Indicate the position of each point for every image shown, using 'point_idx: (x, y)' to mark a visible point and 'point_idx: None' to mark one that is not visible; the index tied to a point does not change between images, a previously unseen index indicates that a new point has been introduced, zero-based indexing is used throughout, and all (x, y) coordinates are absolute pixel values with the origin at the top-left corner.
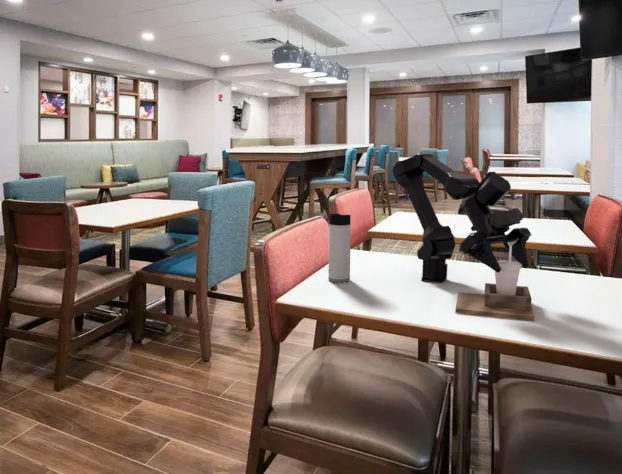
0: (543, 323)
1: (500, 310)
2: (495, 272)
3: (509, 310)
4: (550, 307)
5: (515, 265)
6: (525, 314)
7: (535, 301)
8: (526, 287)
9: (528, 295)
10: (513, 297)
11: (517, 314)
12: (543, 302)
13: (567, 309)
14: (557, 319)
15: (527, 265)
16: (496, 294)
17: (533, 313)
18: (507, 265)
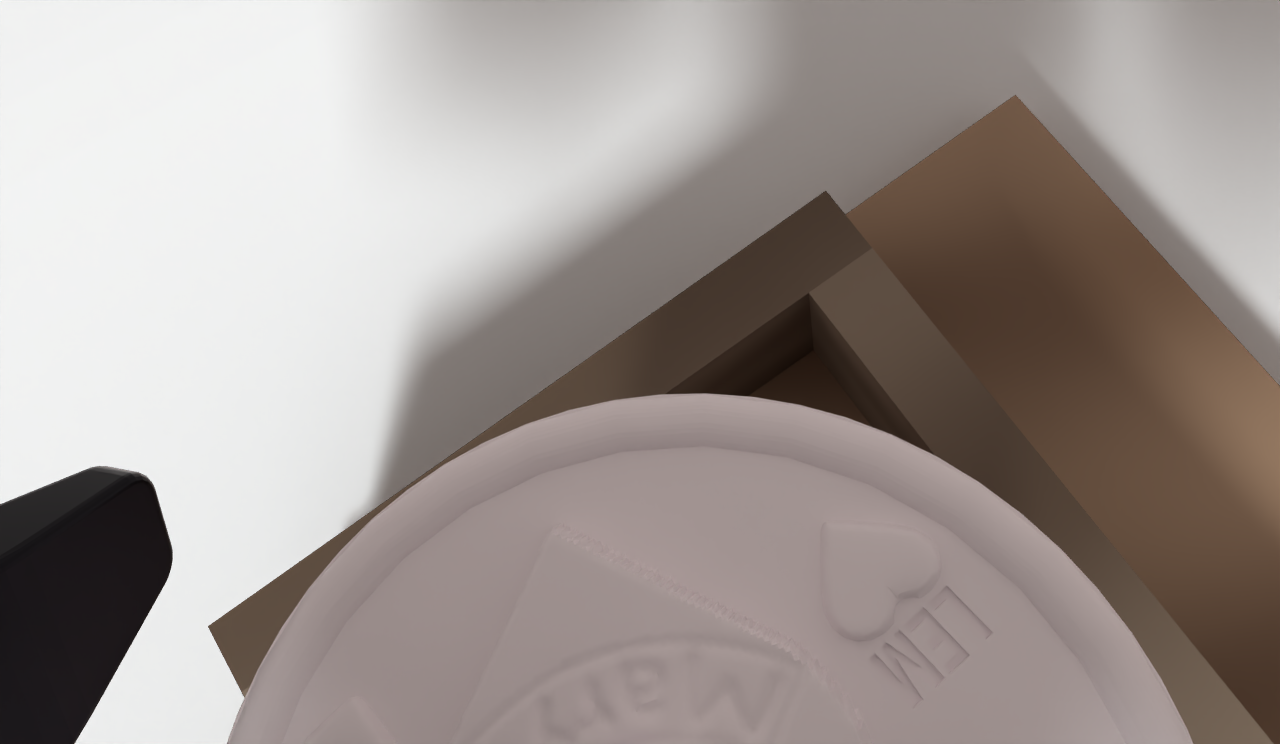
0: (983, 18)
1: (1227, 533)
2: None
3: (1093, 448)
4: (318, 304)
5: (706, 534)
6: (1046, 210)
7: (216, 564)
8: (275, 609)
9: (712, 313)
10: (1014, 426)
11: (1153, 273)
12: (182, 472)
13: (242, 148)
14: (696, 13)
15: (129, 485)
16: (1187, 718)
17: (901, 177)
18: (931, 742)
